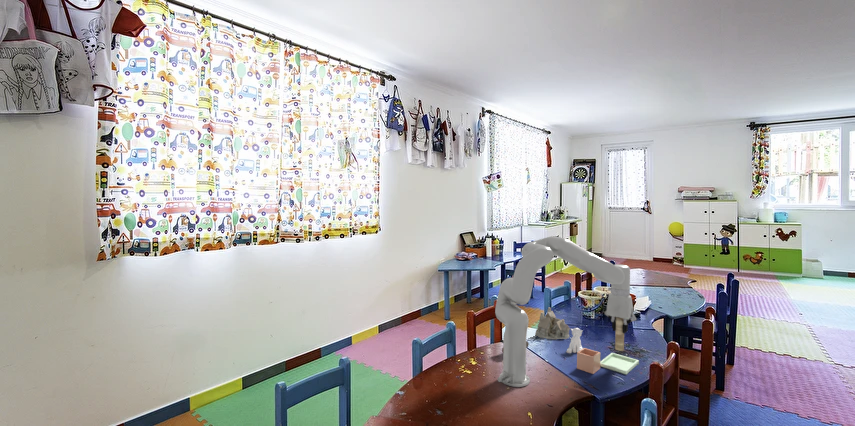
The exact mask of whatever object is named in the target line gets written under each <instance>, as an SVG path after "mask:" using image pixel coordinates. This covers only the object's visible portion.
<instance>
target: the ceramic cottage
mask: <svg viewBox="0 0 855 426" xmlns="http://www.w3.org/2000/svg"><path fill="white" fill-rule="evenodd" d="M546 312H547V313H546V314H545V313H544V312H543V311H541V312H540V315H539V321H538V324H537V329H536V330H535V334H534V335H535V336H536V337H537V336H538V338H540V339H544V338H546V340H557V339H565V340H567V339H570V338H569V337H570V330H571V328H570V327H569V325H568V324H566V322H565V319H563V318H562V319H560V318H557V316H556V314H555V313H554V311H553V310H552V308H551V307H549V306H548V308H547V311H546Z"/></svg>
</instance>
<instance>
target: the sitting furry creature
mask: <svg viewBox="0 0 855 426" xmlns="http://www.w3.org/2000/svg"><path fill="white" fill-rule="evenodd" d="M570 330H571V335H572V337H571V339H570V343H569V345H568V348H567V350H566V351H565V352H566V353H567V354H572V353H576V354H577V352H579V351H580V350H582V349H583V348H584V347H583V346H582V341H581V338H580V337H581V336H582V333H583V331H584V330H582V329H580V328H579V327H574V328H570Z"/></svg>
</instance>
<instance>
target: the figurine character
mask: <svg viewBox="0 0 855 426" xmlns="http://www.w3.org/2000/svg"><path fill="white" fill-rule="evenodd" d="M499 342H500V343H502V344H503V339H500V340H499ZM528 347H529V342H528V341H527V340H526V349H527V348H528ZM501 351H502V353H503V347H502V348H501Z"/></svg>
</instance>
